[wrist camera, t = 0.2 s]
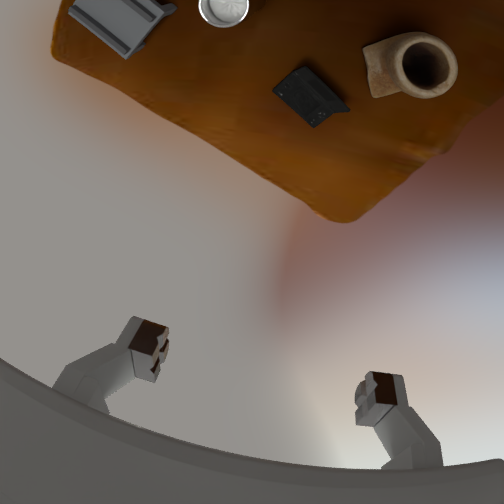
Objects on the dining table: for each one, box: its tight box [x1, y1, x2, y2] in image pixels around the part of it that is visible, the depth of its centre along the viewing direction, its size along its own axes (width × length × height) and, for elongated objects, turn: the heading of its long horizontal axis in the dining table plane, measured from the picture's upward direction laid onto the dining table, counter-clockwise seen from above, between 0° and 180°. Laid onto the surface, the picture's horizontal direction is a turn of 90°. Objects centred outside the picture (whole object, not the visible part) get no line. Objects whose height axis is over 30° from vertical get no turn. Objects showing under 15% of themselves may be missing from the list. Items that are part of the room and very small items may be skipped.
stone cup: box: [363, 32, 458, 98], centre depth 37 cm, size 15×12×15 cm
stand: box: [68, 0, 177, 59], centre depth 40 cm, size 12×17×8 cm
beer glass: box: [198, 0, 266, 27], centre depth 35 cm, size 7×7×15 cm
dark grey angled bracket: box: [273, 66, 350, 128], centre depth 51 cm, size 12×7×10 cm
